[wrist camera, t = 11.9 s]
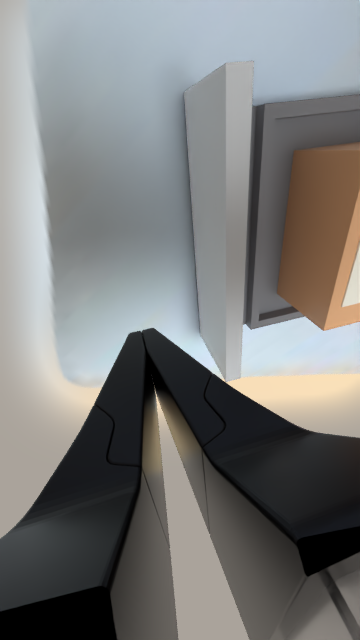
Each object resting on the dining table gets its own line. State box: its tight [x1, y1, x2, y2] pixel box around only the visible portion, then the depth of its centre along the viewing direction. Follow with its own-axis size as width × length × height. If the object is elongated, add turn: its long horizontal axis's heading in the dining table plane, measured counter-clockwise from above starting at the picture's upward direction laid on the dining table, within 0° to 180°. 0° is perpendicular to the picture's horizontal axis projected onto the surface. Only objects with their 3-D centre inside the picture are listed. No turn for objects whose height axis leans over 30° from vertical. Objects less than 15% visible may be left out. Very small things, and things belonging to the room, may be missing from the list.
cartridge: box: [277, 142, 360, 331], centre depth 15 cm, size 9×4×5 cm, turn 6°
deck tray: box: [184, 61, 360, 382], centre depth 16 cm, size 14×15×5 cm
